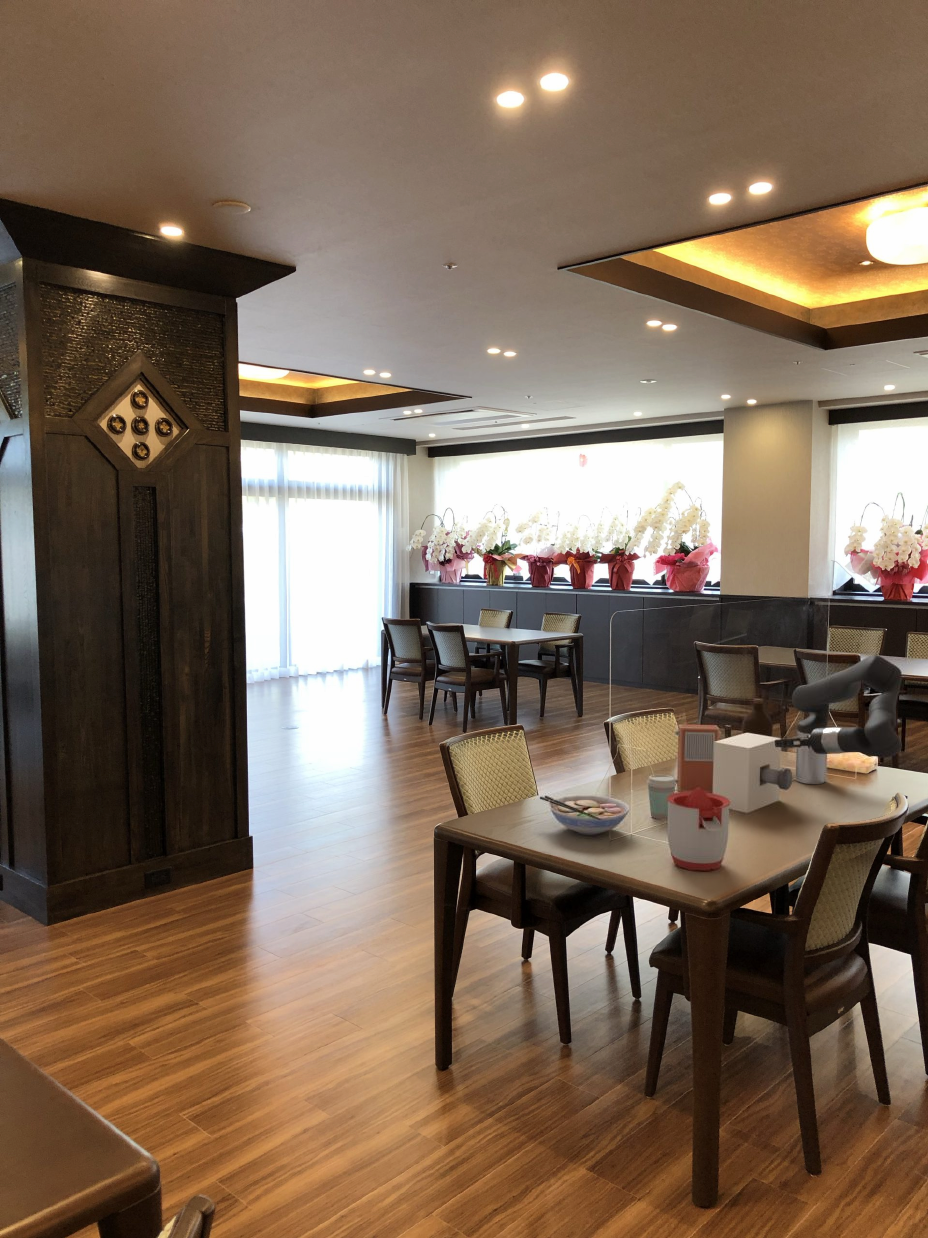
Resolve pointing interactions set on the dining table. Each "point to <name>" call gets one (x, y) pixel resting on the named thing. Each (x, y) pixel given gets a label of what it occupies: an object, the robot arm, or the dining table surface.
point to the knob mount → (745, 770)
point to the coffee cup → (660, 794)
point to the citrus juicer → (697, 829)
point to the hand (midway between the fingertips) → (785, 742)
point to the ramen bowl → (588, 812)
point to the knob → (776, 777)
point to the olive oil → (757, 721)
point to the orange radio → (696, 756)
